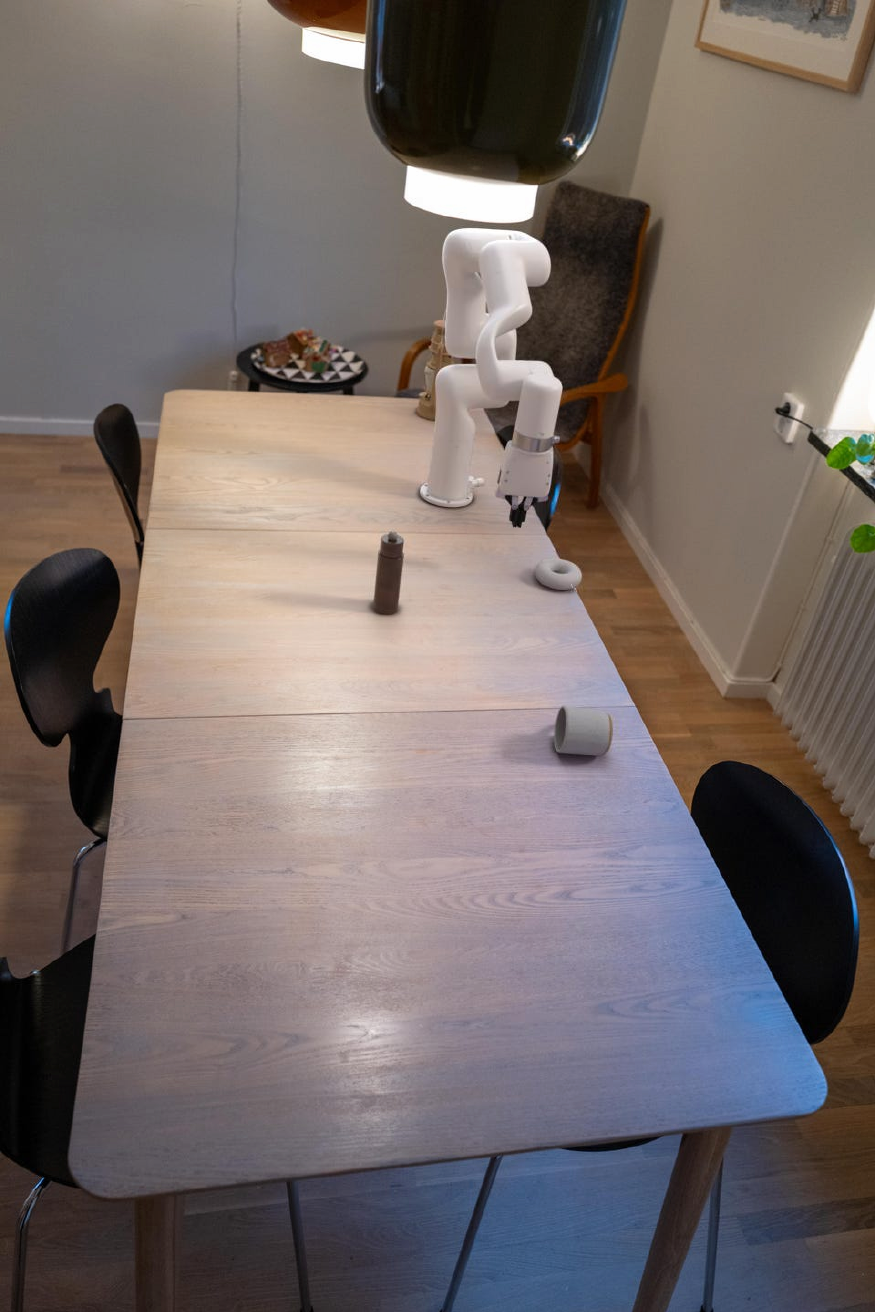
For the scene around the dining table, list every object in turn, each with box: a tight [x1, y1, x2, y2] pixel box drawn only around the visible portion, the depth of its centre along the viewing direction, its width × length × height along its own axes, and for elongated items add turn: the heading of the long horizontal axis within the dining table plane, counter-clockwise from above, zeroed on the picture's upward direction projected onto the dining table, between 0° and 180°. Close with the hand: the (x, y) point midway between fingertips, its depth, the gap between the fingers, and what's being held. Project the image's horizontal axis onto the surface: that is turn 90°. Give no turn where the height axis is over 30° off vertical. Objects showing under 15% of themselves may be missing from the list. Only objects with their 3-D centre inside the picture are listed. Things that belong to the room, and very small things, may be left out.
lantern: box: [416, 309, 455, 421], centre depth 275 cm, size 15×10×30 cm
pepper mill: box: [372, 530, 405, 615], centre depth 188 cm, size 5×5×16 cm
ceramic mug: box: [553, 705, 614, 757], centre depth 162 cm, size 11×8×8 cm
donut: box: [534, 557, 583, 591], centre depth 209 cm, size 10×3×10 cm
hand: (515, 524), depth 203 cm, fingers closed
